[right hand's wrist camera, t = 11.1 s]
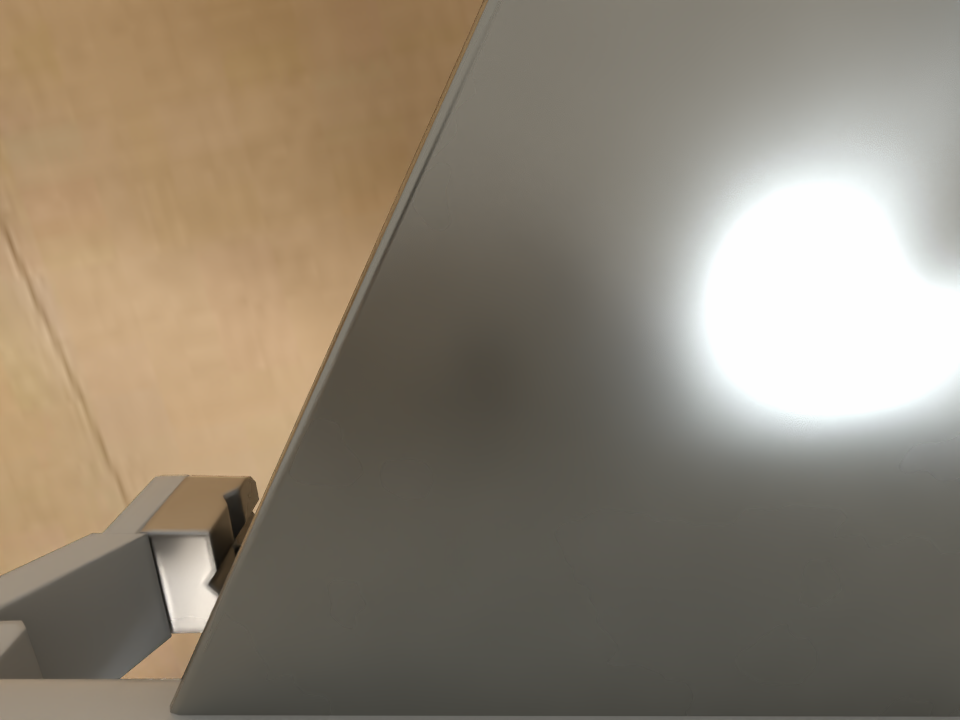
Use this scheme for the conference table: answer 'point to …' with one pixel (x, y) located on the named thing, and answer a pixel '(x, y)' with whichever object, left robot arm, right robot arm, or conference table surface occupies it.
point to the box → (635, 387)
